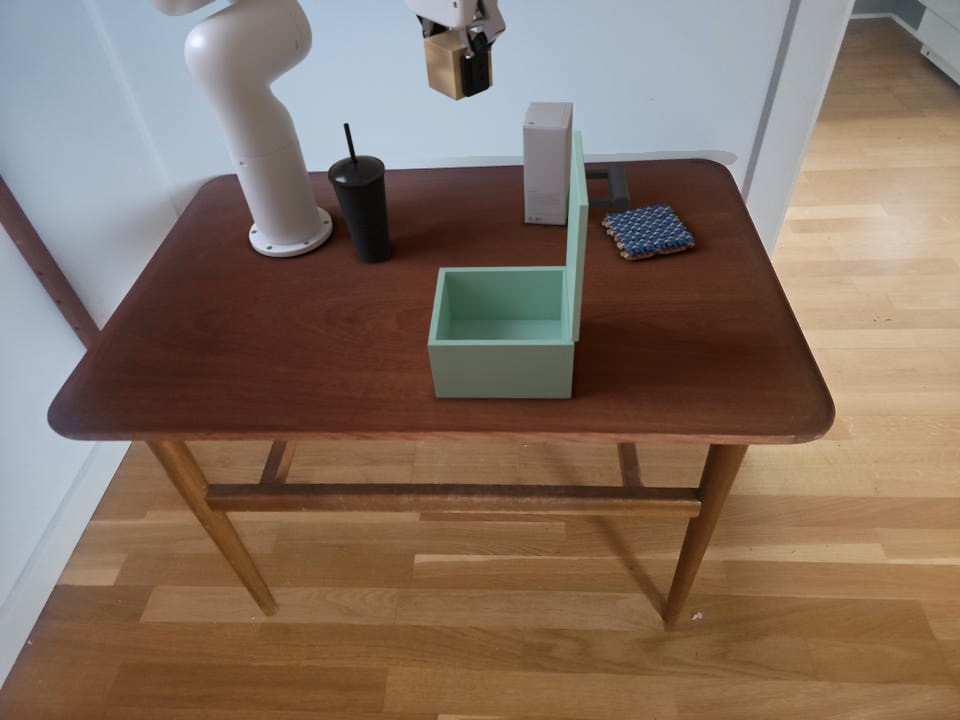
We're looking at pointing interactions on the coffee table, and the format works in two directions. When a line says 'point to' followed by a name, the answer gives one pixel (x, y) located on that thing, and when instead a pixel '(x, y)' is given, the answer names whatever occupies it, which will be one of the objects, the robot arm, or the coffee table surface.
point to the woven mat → (648, 232)
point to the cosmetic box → (547, 161)
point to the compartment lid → (579, 219)
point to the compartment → (501, 333)
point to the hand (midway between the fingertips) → (459, 82)
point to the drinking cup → (363, 201)
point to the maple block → (447, 63)
